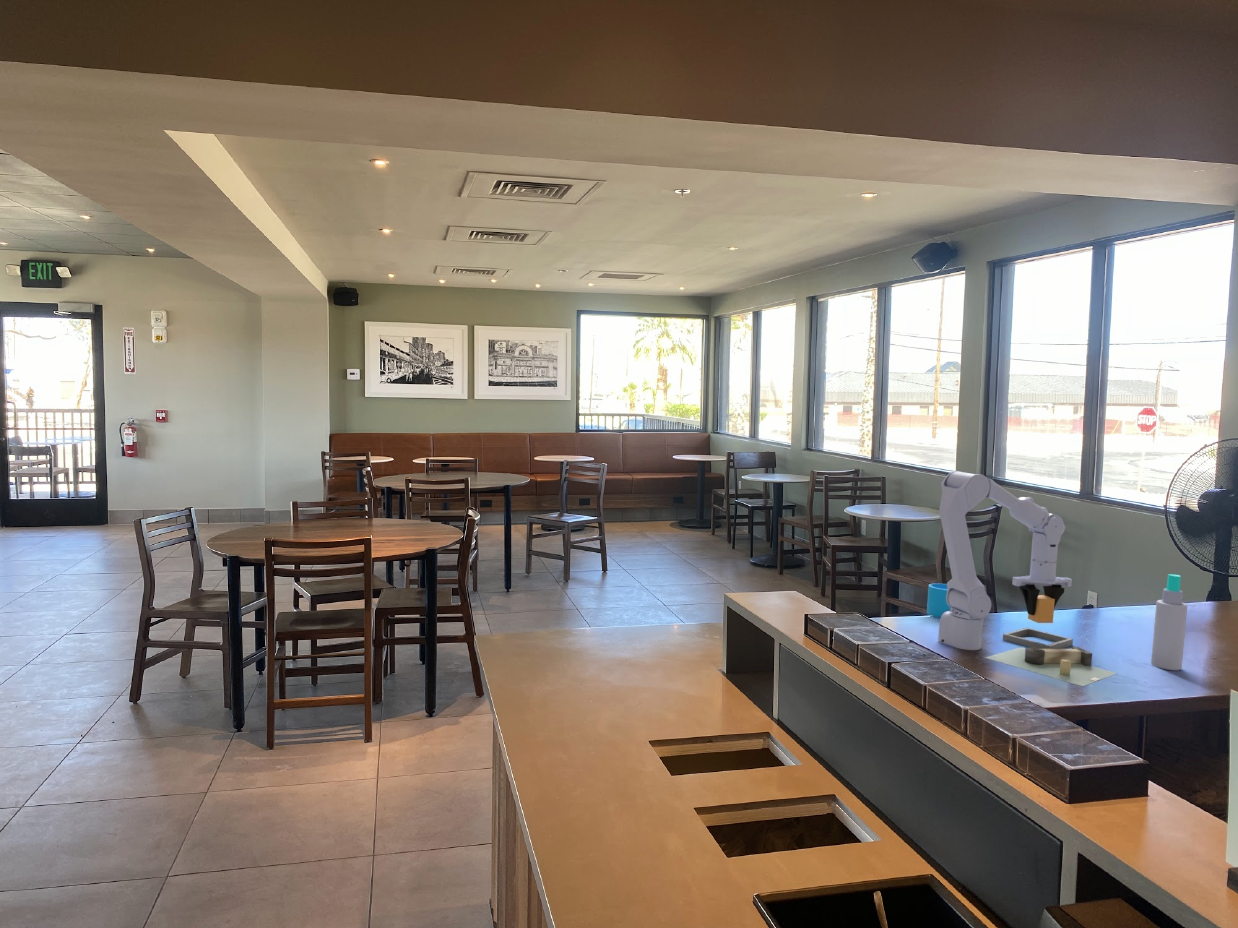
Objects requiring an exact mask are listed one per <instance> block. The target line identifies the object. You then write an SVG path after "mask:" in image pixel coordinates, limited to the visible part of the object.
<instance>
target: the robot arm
mask: <svg viewBox="0 0 1238 928" xmlns="http://www.w3.org/2000/svg"><path fill="white" fill-rule="evenodd" d="M940 487H941V492H942V494H941V499H940V504H939V511H938V512H939V515H940V516H939V517H940V522H941V526H942V531H943V536H944V542H945V549H946V552H947V558H948V563H949V568H950V574H951V579H950V580H948V581H947V583H946V584H947V595H946V601H947V604H948V605H949V607H950V611H946V612H944V613H943V614H942V616H941V618H939V622H938V635H937V636H938V639H937V642H938V643H940V644H945V645H949V646H950V647H951V646H952V647H953V648H957V649H961V650H966V651H967V650H968V651H977V650H981V649H982V644H983V643H982V640H983V628H984V627H983V625H984V620H985V619H986V616H987V615H988V614H990V612H991V608H992V600H991V598H990V596H989V595H988V594H987V591H986V586H984V584H983V583H982V582H981V580H980V579H979V578H978V576H977V571H976V567H975V562H974V555H973V551H972V547H971V540H970V534H969V529H968V524H967V520H966V519H967V518H966V514H968V512H969V511H971V510H972V509H973V508H974V507H975V506H977V505H978V504H979V503H980V502H982V501H983V500H984V499H985V498H986V499H990V500H992V501H994V502H995V503H997V504H998V505H1001V506H1003V507H1004V508H1006V509H1008V510H1009V511H1008V512H1009V516H1010V517H1011V518H1013V519H1015V520H1016V521H1018V522H1020V523H1021V524H1023V525H1024V526H1025V527H1027V528H1028V531H1029V532H1031V533H1032V540H1031V551H1030V552H1031V554H1030V568H1029V575H1025V576H1024V575H1023V576H1012V583H1011V584H1012V585H1013V586H1015V587H1019V590H1020V592H1021V593H1022V596H1023V598H1024V602H1025V606H1026V612H1027V615H1028V614H1030V615H1035V612H1036V602H1037V598H1038V595H1040V592H1041V589H1038V588H1037V587H1039V586H1040V587H1042V588H1043V593H1044V594H1043V595H1045V596H1048V597H1050V598H1053V599H1055V602H1054V609H1055V607H1056V605H1057V604H1058V602H1059V600H1060V598H1061V597H1062V596H1063V595H1064V593H1065V588H1064V587H1069V588H1070V587H1072V586H1073V585H1072V584H1073V579H1072V578H1069V577H1063V576H1056V575H1057V564H1058V563H1057V561H1058V551H1059V550H1058V548H1059V543H1061V538H1062V535H1063V534H1064V532H1065V530H1066V525H1065V523H1064V520H1063V518H1062V517H1061V516H1060V515H1058V514H1055V513H1050V512H1049V511H1048V508H1047V507H1044V506H1041V505H1039V504H1037V503H1035V502H1034V501H1035V499H1034V498H1033V497H1031V496H1027V497H1025V496H1020V497H1016V496H1015V495H1014V494H1012V493H1011V492H1009V491H1008V490H1006V489H1005V488H1003V487H1002V486H1001V485H1000V484H998V483H997V482H995V481H994V479H992V478H989V477H986V476H985V475H984V474H982V473H977V474H976V473H969V472H964V471H963V472H962V471H960V470H952V471H950V472H949V473H948V474H947V475H946V476H945V477H944V479H943V480H942V482H941V483H940ZM1036 586H1037V587H1036Z"/></svg>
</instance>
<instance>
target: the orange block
mask: <svg viewBox="0 0 1238 928" xmlns="http://www.w3.org/2000/svg"><path fill="white" fill-rule="evenodd" d="M1054 602H1055V599H1053V598H1050V597H1048V596H1045V595H1044V594H1039V595H1038V598H1037V602H1036V612H1035V615H1030V614H1028V613H1027V615H1028V616H1027V619H1028V620H1030V621H1032V622H1035V623H1037V624H1054V613H1055V608H1054Z"/></svg>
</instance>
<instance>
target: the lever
mask: <svg viewBox="0 0 1238 928" xmlns="http://www.w3.org/2000/svg"><path fill="white" fill-rule="evenodd" d="M1062 659H1064V660H1069V661H1071V663H1081V664H1083V665H1088V666H1092V664H1093V663H1092V662H1093V653H1092V652H1090V651H1088V650H1086V649H1084V648H1081V647H1080V646H1071V648H1062V649H1039V648H1032V647H1025V662H1027V663H1030V664H1036V665H1042V664H1044V663H1061V660H1062Z"/></svg>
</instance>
